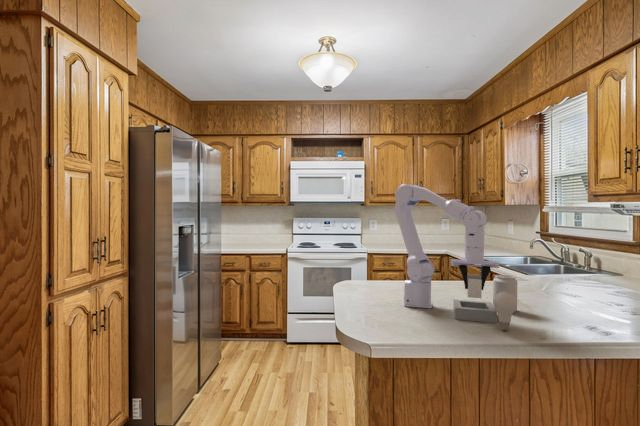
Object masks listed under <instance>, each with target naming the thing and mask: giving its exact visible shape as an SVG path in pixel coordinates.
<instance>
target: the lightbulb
mask: <svg viewBox="0 0 640 426" xmlns="http://www.w3.org/2000/svg"><path fill="white" fill-rule="evenodd" d="M492 304H494V307H495V309H496V311H497V319H498V321H499V328H500V329H501V330H502V331H504V330H505V332H506V331H507V330H510V325H511V321H512V317H513V313H515V312H516V311H515V309H516V307H517V308H518V300H517V301H516V298H515V297H514V296H513V295H512V294H510V293H508V292H500V293H498V294H496V295H495V297H494V299H493V298H492ZM514 311H515V312H514Z"/></svg>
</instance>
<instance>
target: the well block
mask: <svg viewBox="0 0 640 426" xmlns="http://www.w3.org/2000/svg"><path fill="white" fill-rule="evenodd" d="M452 301H453V302H452V305H453V306H452V311H453V316H454V320H460V321H462V320H463V321H472V322H482V323H493V324H494V323H495V324H497V322H498V320H497V319H498V313H497V311H496V309H495V308H494V306H493V302H491V301H490V302H489V301H481V300H480V301H479V300H477V301H476V300H465V299H454V298H453V300H452Z"/></svg>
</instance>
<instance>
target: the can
mask: <svg viewBox="0 0 640 426" xmlns="http://www.w3.org/2000/svg"><path fill="white" fill-rule="evenodd" d="M494 276H495V277H494V278H493V281H492V300H493V299H494V297H495V295H496V294H498V293H500V292H508V293H510V294H512V295H513V296H514V297H515V298H516V301H517V302H518V281H517V279H516V276H514V275H510V274H509V275H508V274H495V275H494ZM492 304H493V303H492ZM493 306H494V304H493ZM494 308H495V307H494ZM517 310H518V306H517V307H516V309H515V311H514V312H513V313H515V312H516V311H517Z"/></svg>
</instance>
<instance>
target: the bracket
mask: <svg viewBox="0 0 640 426" xmlns="http://www.w3.org/2000/svg"><path fill="white" fill-rule="evenodd" d="M467 283H468V289H466V295H467V298H472V299H474V298H475V299H482V291H483V290H482V279H481V274H476V273H475V274H473V273H467Z"/></svg>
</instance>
